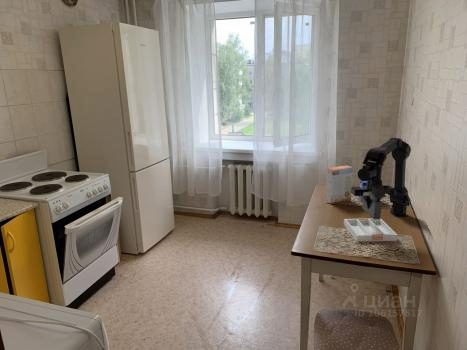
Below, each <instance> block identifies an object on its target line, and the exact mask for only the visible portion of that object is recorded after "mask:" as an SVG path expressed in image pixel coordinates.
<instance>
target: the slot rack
mask: <svg viewBox="0 0 467 350" xmlns="http://www.w3.org/2000/svg"><path fill="white" fill-rule="evenodd" d="M343 226H344V227H345V228H346V229H347V231H348V232H349V233H350V234H351V237H352V238H353V239H354V240H355V241H356V242H357V243H358V242H397V241H398V238H399V237H398V236H399V235H398V234H397V232H396V231H394V230H393V228H391V227H390V226H389V225H388V224H387V223H386V222H385V221H384V220H383V219H382V218H381V217H380V219H373V218H372V217H371V218H368V217H366V218H365V217H361V218H360V217H358V218H344V220H343Z"/></svg>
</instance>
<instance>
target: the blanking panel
mask: <svg viewBox="0 0 467 350" xmlns="http://www.w3.org/2000/svg"><path fill="white" fill-rule="evenodd" d="M369 196H370V198H369V209H367V207H366V204H365V201H364V198H363V202H362V203H361V204H362V206H361V209H362V210H364V211H365V213H367V215H369V217H371V218H373V219H380V218H381V216H382V213H381V212H382V206H383V205H382V204H383V202H382V201H381V200H380V201H379V200H378V199H377V198H376V197H374V196H373V195H372V194H371V193H369Z"/></svg>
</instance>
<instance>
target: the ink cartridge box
mask: <svg viewBox="0 0 467 350" xmlns="http://www.w3.org/2000/svg"><path fill="white" fill-rule="evenodd" d="M359 180H360V179H359ZM366 185H367V181H361V180H360V182H359V187H361V188H362V189H367V188H366ZM371 194H372V195H373V193H371ZM358 199H359V200H360V202H362V203H363V196H358Z"/></svg>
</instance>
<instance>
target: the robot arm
mask: <svg viewBox="0 0 467 350" xmlns="http://www.w3.org/2000/svg"><path fill="white" fill-rule="evenodd" d="M411 153H412V147H411V145H410V144H409V143H407V142H405V141H404V140H403V139H402V138H399V137H390V138H389V139H388V140H387V141H386V142H384V143H383V144H382V145H380V146H378V147H377V146H376V147H372V148H369V150H367V152H366V155H365V157H364V159H363V161H362V168H360V169H359V170H358V171H357V178H358V179H359V180H361V181H367V185H366V188H367V189H362V188H361V187H360V186H352V188H351V195H353V196H354V197H359V196H363V198H364V201H365V204H366V207H367V209H369V198H370V196H369V193H373V196H374V197H376V198H377V199H378V200H379V201H381V200H382V199H383V198H386V197H387V195H388V196H389V202H390V203H392V204H391V206H390V207H391V208H390V214H392V215H393V216H394V217H407V216H408V214H407V208H408V207H409V206H410V204H411V198H410V196H409V191H408V189H407V187H406V164H407V160H408V158H409V157H410V154H411ZM389 154H391V156H392V159H393V160H394V186H391V185H389V184H387V185H385V184H384V185H383V179H382V172H383V167H384V166H385V164H384V163H385V161H386V160H387V158H388V157H387V156H388V155H389Z"/></svg>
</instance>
